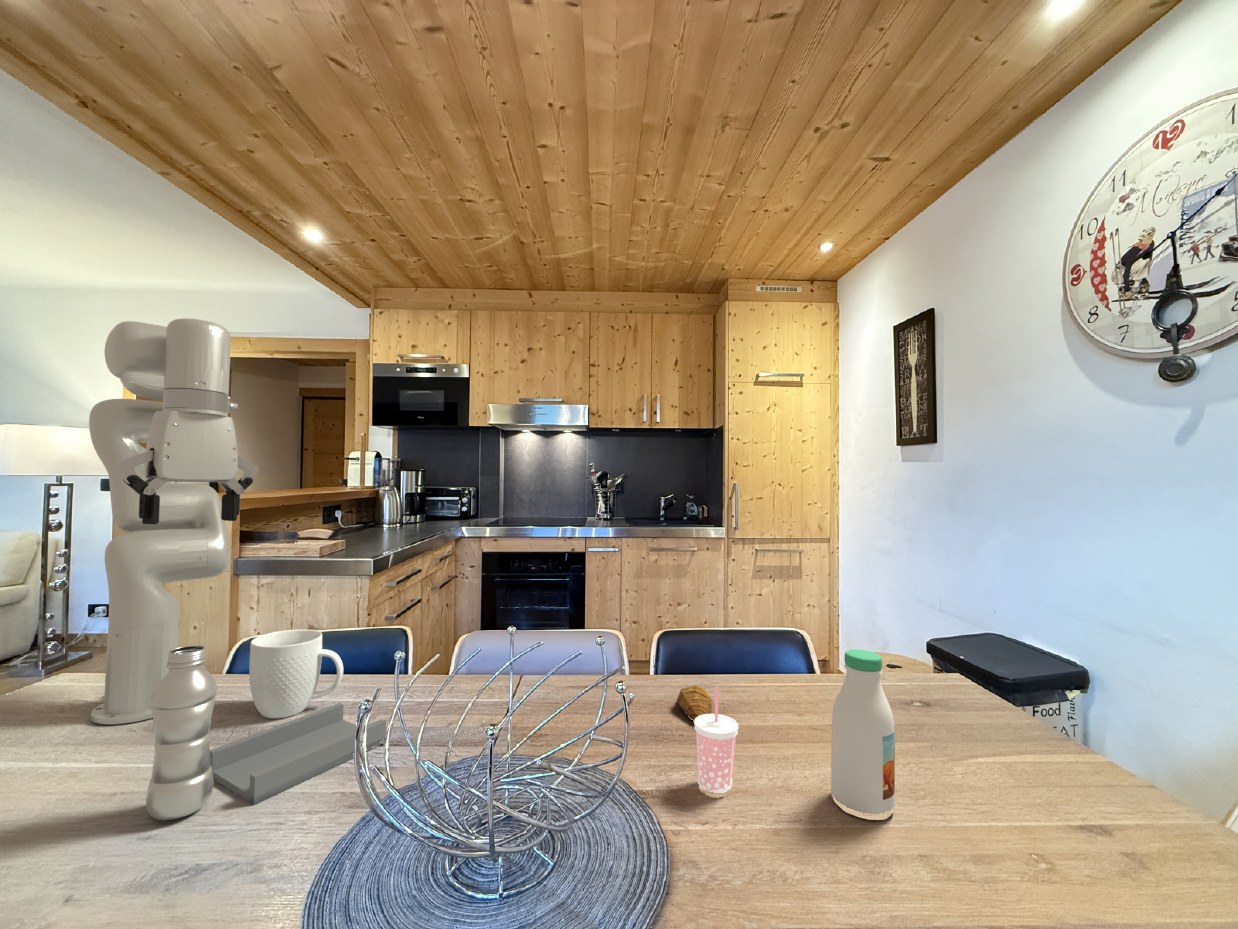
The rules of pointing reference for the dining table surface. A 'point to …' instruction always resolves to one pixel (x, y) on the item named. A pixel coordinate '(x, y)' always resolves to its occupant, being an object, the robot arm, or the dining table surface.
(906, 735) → the dining table surface
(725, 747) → the beverage cup
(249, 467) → the robot arm
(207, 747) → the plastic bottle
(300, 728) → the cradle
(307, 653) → the mug
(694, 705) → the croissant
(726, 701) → the dining table surface
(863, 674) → the milk bottle
